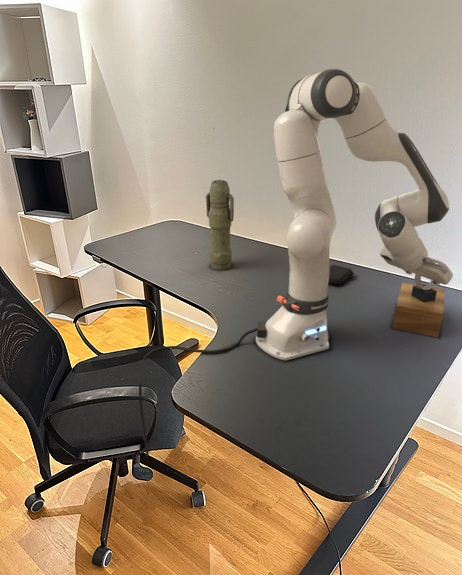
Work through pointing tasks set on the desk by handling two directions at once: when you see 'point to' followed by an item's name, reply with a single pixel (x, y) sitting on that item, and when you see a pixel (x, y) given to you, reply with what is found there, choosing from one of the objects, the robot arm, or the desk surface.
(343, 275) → the carrying case
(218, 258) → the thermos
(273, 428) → the desk surface
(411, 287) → the wooden display stand
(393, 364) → the desk surface
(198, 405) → the desk surface
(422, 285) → the watch
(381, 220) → the robot arm
